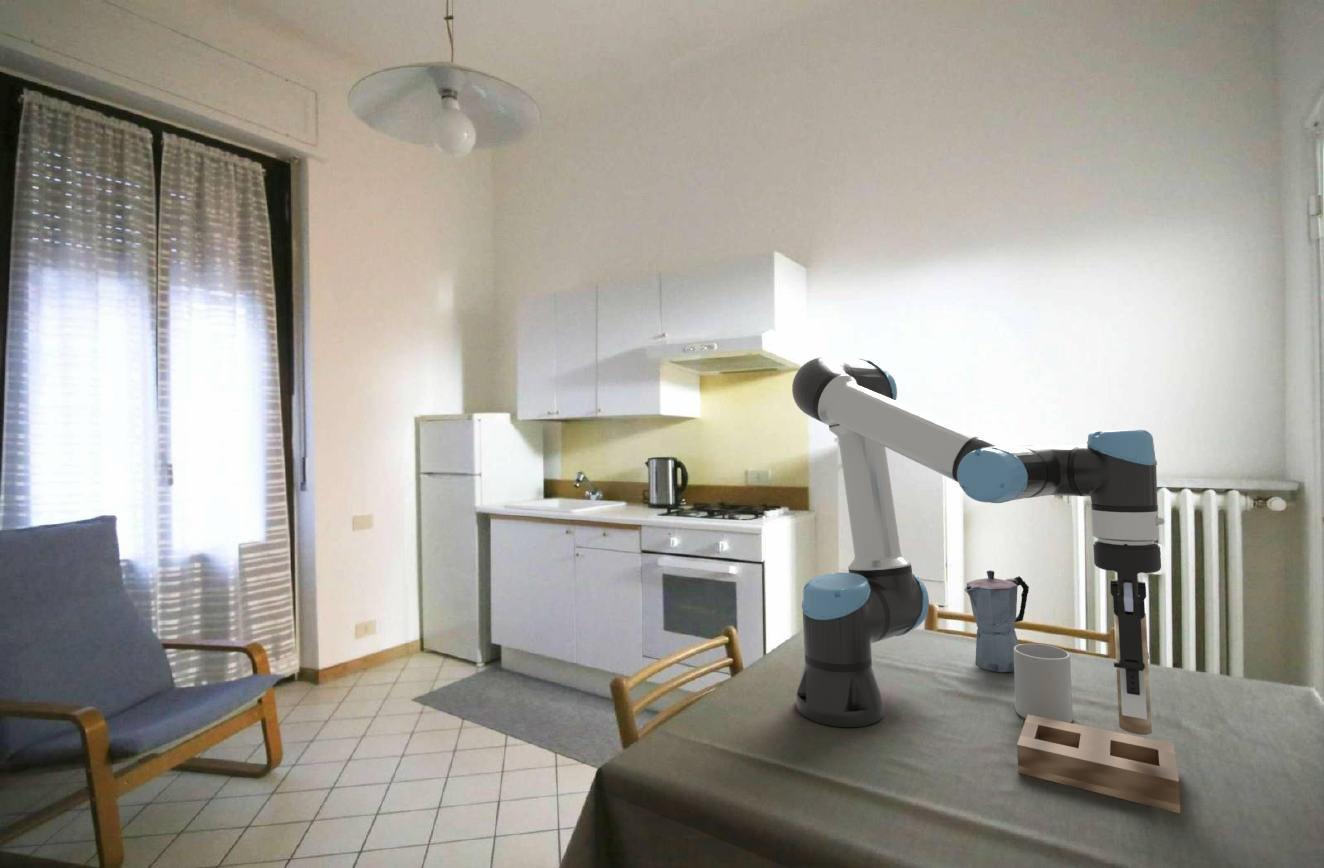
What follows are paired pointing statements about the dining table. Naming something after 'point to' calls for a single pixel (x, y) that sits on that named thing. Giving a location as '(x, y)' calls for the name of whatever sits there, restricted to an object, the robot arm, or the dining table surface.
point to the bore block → (1100, 761)
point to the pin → (1139, 724)
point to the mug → (1043, 682)
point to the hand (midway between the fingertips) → (1134, 710)
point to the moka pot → (996, 620)
